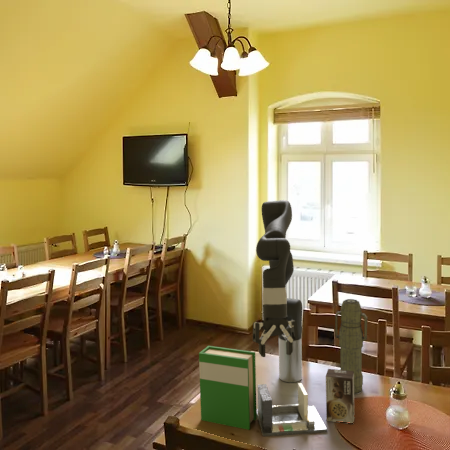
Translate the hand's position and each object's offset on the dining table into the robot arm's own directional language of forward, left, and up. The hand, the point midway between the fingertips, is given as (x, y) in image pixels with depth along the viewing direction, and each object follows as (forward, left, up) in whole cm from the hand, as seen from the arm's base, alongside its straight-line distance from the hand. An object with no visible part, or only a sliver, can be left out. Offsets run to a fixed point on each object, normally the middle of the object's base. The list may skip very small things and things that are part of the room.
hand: (276, 355), depth 148 cm
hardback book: (-16, -14, -29) cm, 35 cm away
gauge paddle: (-10, +11, -27) cm, 31 cm away
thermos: (-33, +35, -29) cm, 56 cm away
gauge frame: (-12, +7, -28) cm, 31 cm away
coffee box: (-12, +24, -29) cm, 39 cm away
